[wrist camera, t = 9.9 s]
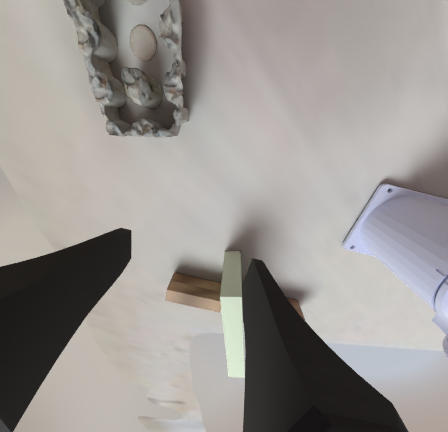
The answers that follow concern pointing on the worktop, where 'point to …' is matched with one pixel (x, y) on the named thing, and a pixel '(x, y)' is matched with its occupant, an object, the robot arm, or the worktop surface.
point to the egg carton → (132, 77)
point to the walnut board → (202, 293)
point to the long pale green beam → (233, 313)
